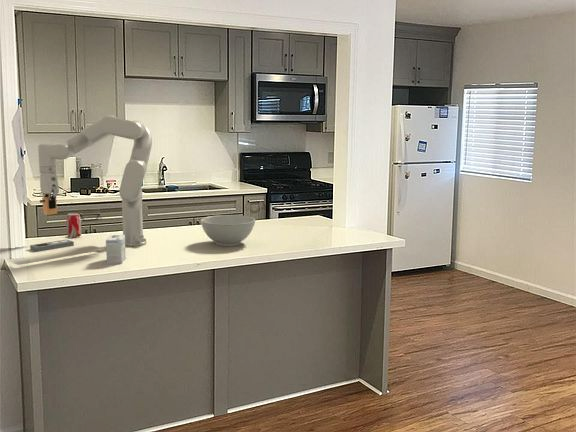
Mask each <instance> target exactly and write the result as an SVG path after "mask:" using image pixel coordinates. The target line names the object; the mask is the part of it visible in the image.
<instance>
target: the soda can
mask: <svg viewBox="0 0 576 432" xmlns="http://www.w3.org/2000/svg"><path fill="white" fill-rule="evenodd" d="M66 215H67V216H66V218H65V219H66V235H67V237H68V238H70V237H73V238H75V239H77V238H80V237H81V236H82V219H81V216H80V213H78V212H70V213H67V214H66Z"/></svg>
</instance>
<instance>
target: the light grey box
mask: <svg viewBox="0 0 576 432" xmlns="http://www.w3.org/2000/svg"><path fill="white" fill-rule="evenodd" d="M105 252H106V265H123V262H124V261H125V260H126V258H127V257H126V256H127V255H126V254H127V253H126V246H125V235H123V234H115V235H114V234H111V235H109V236H108V238H107V239H106V240H105Z"/></svg>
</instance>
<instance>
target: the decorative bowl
mask: <svg viewBox="0 0 576 432" xmlns="http://www.w3.org/2000/svg"><path fill="white" fill-rule="evenodd" d="M255 224H256V219H255V217H252V216H249V215H248V216H247V215H240V214H219V215H211V216H206V217H203V218H201V219H200V225H201V227H202V229H203V232H204V233H205V234H206V236H207V237H208V238H209V239H210V240H212V241H213V242H215V245H217V246H221V247H235V246H239V245H241V243H242V241H244V240H246V239H247V238H248V237H249V235H250V234H251V233H252V231H253V229H254V226H255Z"/></svg>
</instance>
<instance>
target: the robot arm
mask: <svg viewBox="0 0 576 432" xmlns="http://www.w3.org/2000/svg"><path fill="white" fill-rule="evenodd" d="M110 136H115V137H119V138H124V139H127V140H128V139H129V140H133V147H132V149H131V154H130V157H129V160H128V162H127V163H126V164H125V167H124V171H123V175H122V178H121V182H120V186H119V189H118V194H119V196H120V199H121V210H122V211H121V215H122V217H121V218H122V235H125V247H137V246H143V245H146V244H147V239H146V238H145V237H144V236H145V235H144V229H143V228H144V227H143V226H144V225H143V223H144V222H143V221H144V220H143V188H142V186H143V182H144V179H145V176H146V173H147V169H148V162H149V160H150V154H151V151H152V147H153V145H152V144H153V143H152V142H153V138H152V134H151V132H150V130H149V128H148V127H147V126H146V125H145V124H144V123H142V121H140V120H130V119H129V120H128V119H125V118H120V117H116V116H115V115H113V114H108V115H105V116H103V117H102V118H101V119H99V120H97V121H96V122H94V123H92V124H91V125H89V126H87V127H85V128H83V129H82V130H81V131H80V132H79V133H77V134H76V135H75V136H73V137H71V138H69V139H68V140H65V141H64V142H62V143H57V144H53V143H41V144H40V143H39V144H38V146H37V151H38V166H39V174H40V176H39V186H40V187H39V189H40V192H41V194H42V197H49V209H53V208H56V203H57V197H58V194H59V193H60V189H59V187H60V186H59V180H58V175H57V160H63V161H64V160H67V159H69V158H71V157H73V156H75V155H77V154H79V153H80V152H82V151H83V150H86V149H87V148H89V147H92V146H93V145H94V146H95V145H96V144H98V143H99V142H100V141H102V140H104V139H106V138H108V137H110Z"/></svg>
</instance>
